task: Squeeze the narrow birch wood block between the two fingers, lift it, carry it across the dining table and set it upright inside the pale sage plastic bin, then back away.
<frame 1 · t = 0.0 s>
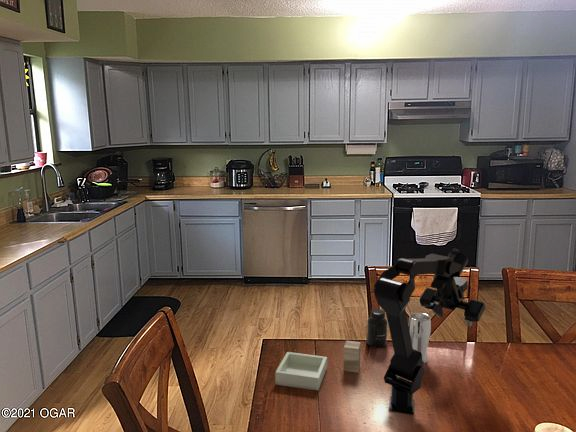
hand: (456, 321, 151), 15 cm above the table, tool tilted 35°, fingers open, 9 cm apart
supplement bottle: (376, 344, 169), on the table
bin: (302, 376, 147), on the table
birch block: (351, 368, 152), on the table
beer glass: (417, 360, 157), on the table
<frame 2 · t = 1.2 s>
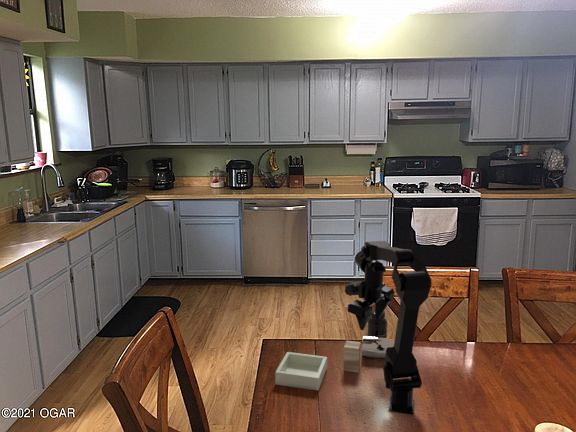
hand: (369, 324, 153), 13 cm above the table, tool pointing down, fingers open, 9 cm apart
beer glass: (409, 350, 157), point 3 cm above the table
everything else where it was.
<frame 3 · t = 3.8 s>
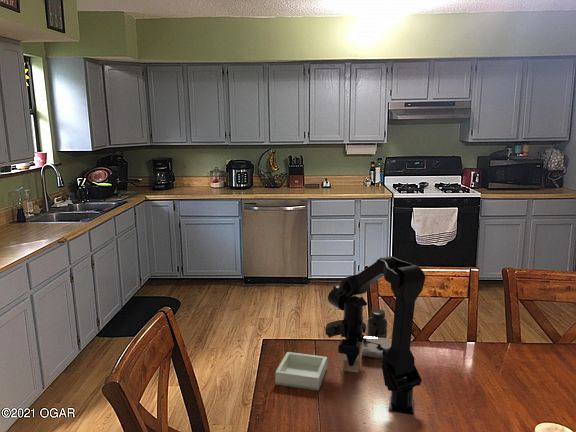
hand: (352, 362, 152), 2 cm above the table, tool pointing down, fingers closed on birch block, 4 cm apart
birch block: (351, 368, 152), on the table, touching gripper
everything else where it was.
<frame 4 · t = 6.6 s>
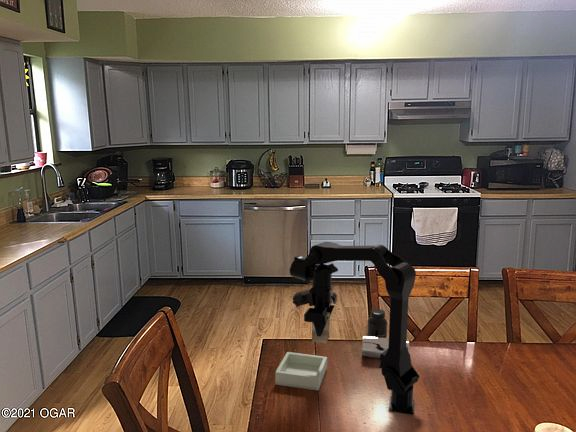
hand: (320, 332, 147), 13 cm above the table, tool pointing down, fingers closed on birch block, 4 cm apart
birch block: (320, 339, 147), point 11 cm above the table, touching gripper
everything else where it was.
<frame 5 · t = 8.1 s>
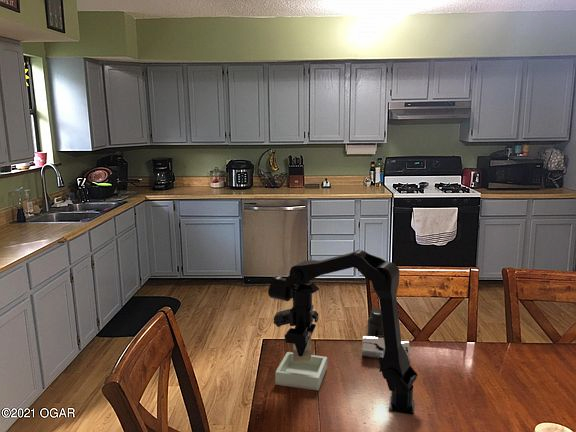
hand: (302, 352, 146), 8 cm above the table, tool pointing down, fingers closed on birch block, 4 cm apart
birch block: (302, 358, 146), point 6 cm above the table, touching gripper
everything else where it was.
when the fingers open (4 cm above the table, at t = 9.5 s): birch block drops 2 cm, resting on bin.
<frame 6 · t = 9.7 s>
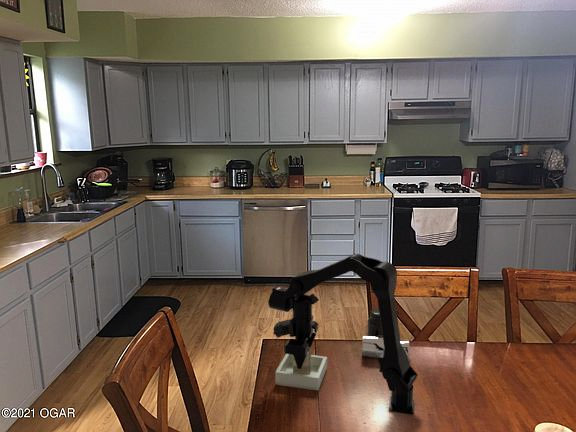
hand: (302, 362, 146), 4 cm above the table, tool pointing down, fingers open, 7 cm apart
birch block: (302, 373, 147), point 1 cm above the table, touching bin
everything else where it was.
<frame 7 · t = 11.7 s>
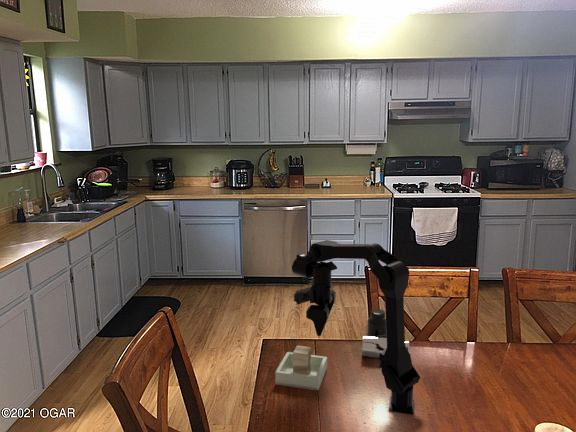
hand: (321, 329, 150), 13 cm above the table, tool pointing down, fingers open, 9 cm apart
nothing on the table moved.
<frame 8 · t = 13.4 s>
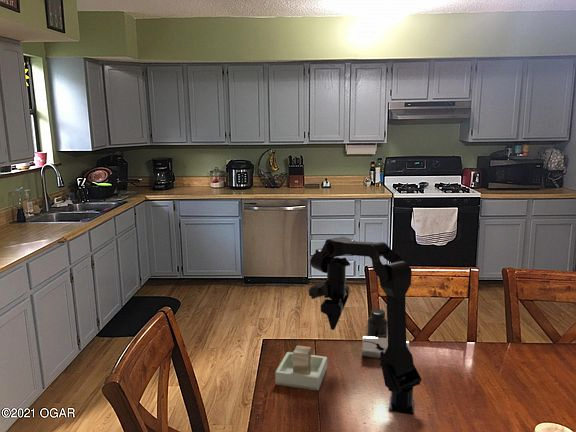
hand: (335, 323, 154), 13 cm above the table, tool pointing down, fingers open, 9 cm apart
nothing on the table moved.
at the end: birch block inside the target area on the bin (0.0 cm from its centre), point 0.8 cm above the bin's base; birch block tilted 0°; the gripper is holding nothing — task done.
